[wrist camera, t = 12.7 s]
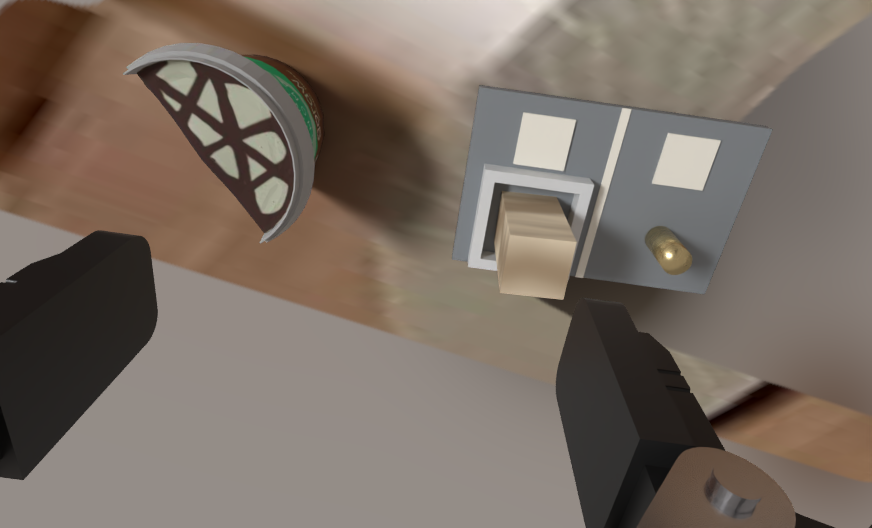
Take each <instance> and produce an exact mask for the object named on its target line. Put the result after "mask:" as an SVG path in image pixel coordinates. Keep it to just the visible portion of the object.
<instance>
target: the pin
mask: <svg viewBox="0 0 872 528" xmlns="http://www.w3.org/2000/svg"><path fill="white" fill-rule="evenodd" d="M645 244H646V246H647V247H648V249H649V250H650V251H651V253H652V254H653V256H654V257H655V258H656V260H657V261H658V263H659V264H660V265H661V267H662V268H663V270H664V271H665V272H666V273H668V274H670V275H679V274H682V273H684V272H686V271H687V270H688V269H689V268H690V266H691V264H692V256H691V254H690V253H689V251H688V250H687V249H686V248H685V247H684V246H683V244H682V243H681V242H680V241H679V240H678V239H677V237H676V236H675V235H674V234H673V233H672V232H671V230H670V229H669V228H667V227H665V226H656V227H654V228H652V229H650V230H649V231H648V232H647V234H646V236H645Z"/></svg>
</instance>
